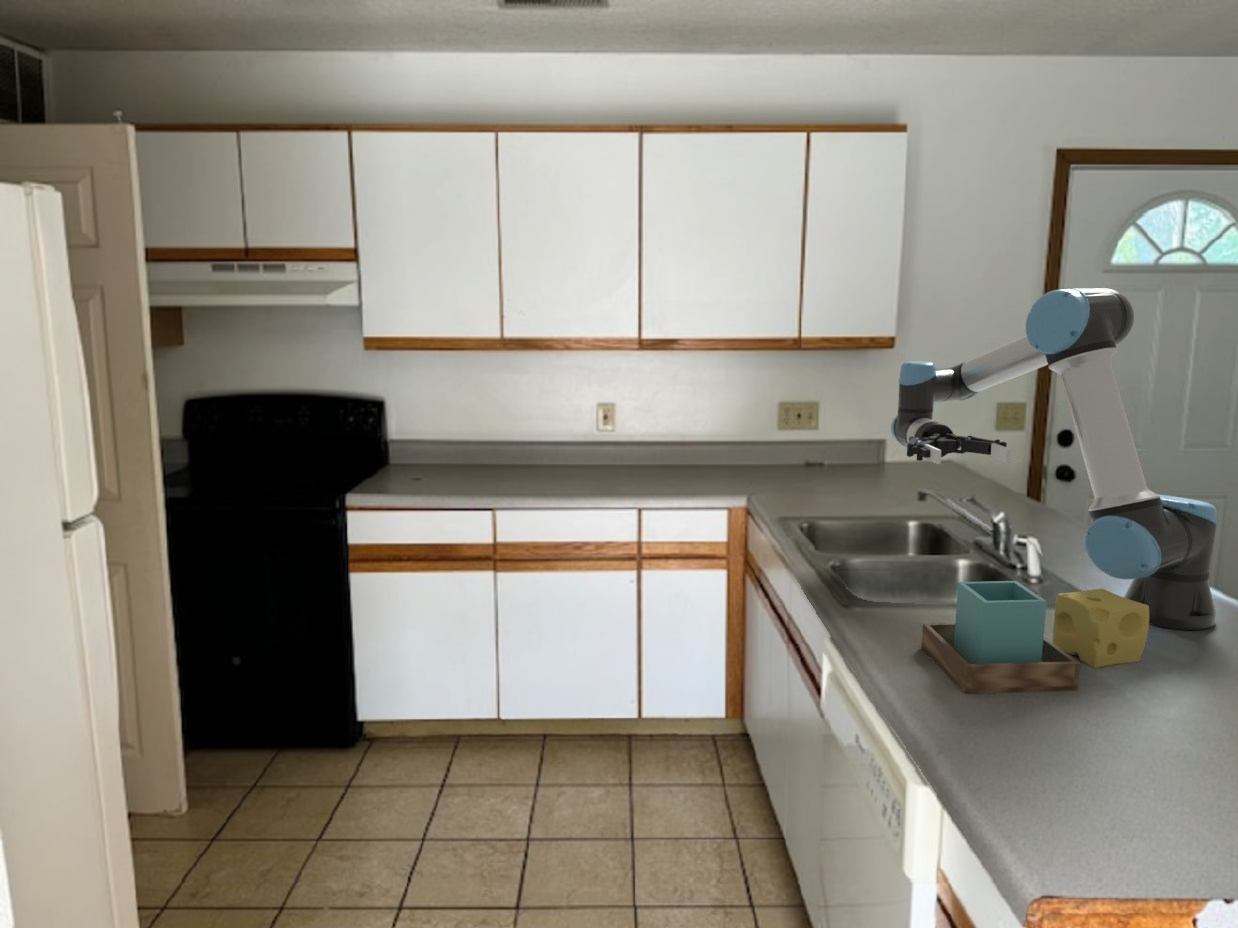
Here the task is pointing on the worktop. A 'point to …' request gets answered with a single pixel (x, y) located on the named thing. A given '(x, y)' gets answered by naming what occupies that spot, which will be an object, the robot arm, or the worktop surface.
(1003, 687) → the walnut crate
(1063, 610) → the cheese
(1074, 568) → the worktop surface
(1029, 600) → the teal crate
